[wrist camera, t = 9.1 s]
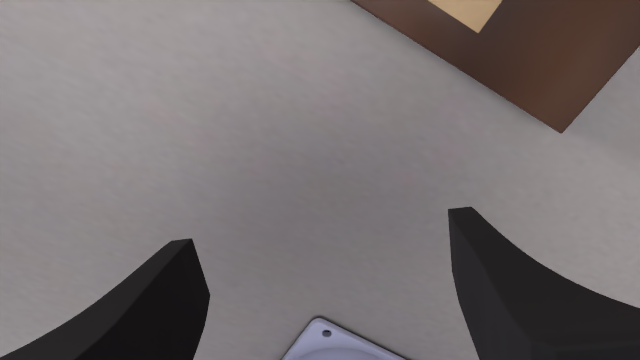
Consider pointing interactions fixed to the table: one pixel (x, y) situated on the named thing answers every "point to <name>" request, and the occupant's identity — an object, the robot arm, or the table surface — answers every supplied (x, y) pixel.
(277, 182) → the table surface
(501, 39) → the cutting board
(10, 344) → the table surface
